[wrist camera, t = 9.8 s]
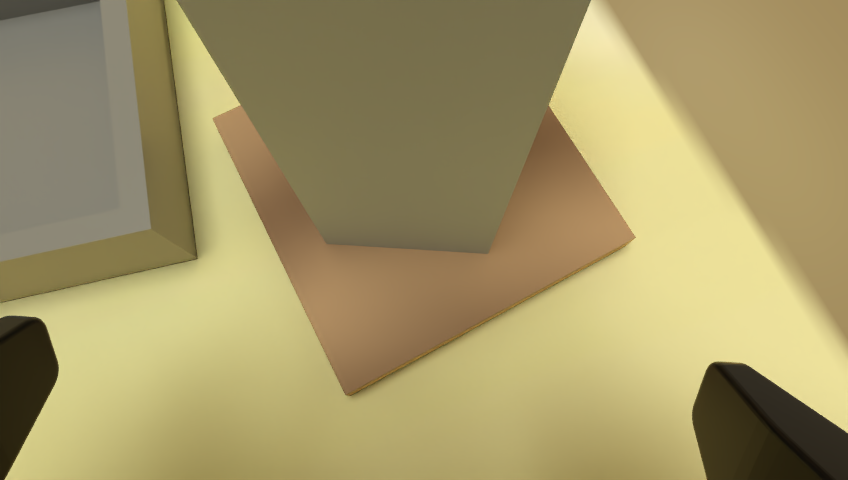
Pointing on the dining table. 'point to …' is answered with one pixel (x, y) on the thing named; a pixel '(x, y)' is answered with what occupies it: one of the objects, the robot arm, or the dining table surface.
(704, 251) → the dining table surface
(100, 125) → the parts bin
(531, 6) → the labelled box
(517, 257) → the walnut pad
